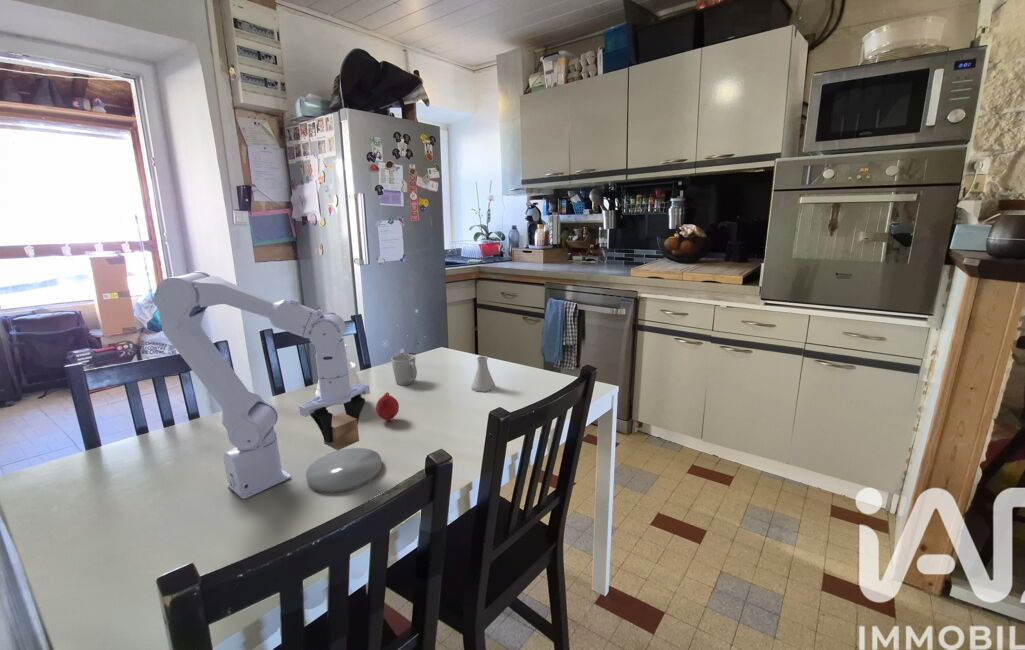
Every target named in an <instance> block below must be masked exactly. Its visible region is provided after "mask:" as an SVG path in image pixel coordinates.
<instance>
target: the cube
mask: <svg viewBox="0 0 1025 650" xmlns="http://www.w3.org/2000/svg"><path fill="white" fill-rule="evenodd" d="M358 426H359V425H357V419H356V418H354V417H351V416H349V415H347V414H344V413H342V414H339V415H337V416H332V435H333V442H331V443H328V442H326V441H324V440H323V443H324V444H325V445H326V446H328V447H329V448H331V449H334V450H335V451H339V450H343V449H344V448H345V449H346V448H347V447H348V446H351V445H353V444H355V443H359V442H360V435H359V427H358Z"/></svg>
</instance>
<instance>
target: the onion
mask: <svg viewBox="0 0 1025 650" xmlns="http://www.w3.org/2000/svg"><path fill="white" fill-rule="evenodd" d="M399 408H400V404H399V401H398V400H397V399H396V398H395V397H394V396H392V395H390V392H389V391H385V392H384V394H383V395H382V396H381V397H380V398H379V399H378V400H377V403H376V405H375V413H376V414H377V415H378V418H380V419H382V420H384V421H387V422H390V421H391V420H393V419H394V418H395V417H396V416H397V415H398V413H399Z"/></svg>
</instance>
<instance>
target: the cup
mask: <svg viewBox="0 0 1025 650" xmlns="http://www.w3.org/2000/svg"><path fill="white" fill-rule="evenodd" d="M390 361H391V366H392V371H393V375H394V379H395V382H396V384H397V385H398V386H409V385H412V384H413V383H414V382H415V380H416V378H417V373H418V372H417V370H418V369H417V366H416V355H415V354H411V353H402V354H397V355H394V356H392V357H391V359H390Z"/></svg>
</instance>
